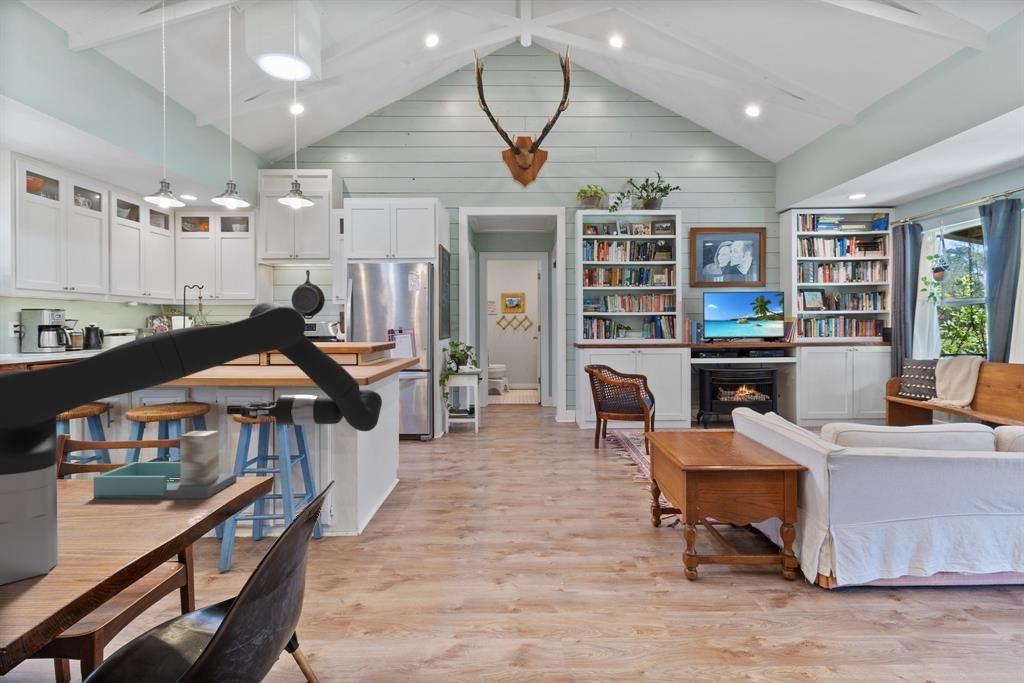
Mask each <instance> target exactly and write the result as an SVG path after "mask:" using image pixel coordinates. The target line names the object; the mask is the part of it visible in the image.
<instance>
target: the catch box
mask: <svg viewBox="0 0 1024 683" xmlns="http://www.w3.org/2000/svg"><path fill="white" fill-rule="evenodd" d="M169 478H180V461H134V462H130V463H128V464H125V465H122V466H120V467H118V468H114V469H112V470H109V471H105V472H103V473H101V474H99V475H98V474H97V475H96V476H93V499H165V498H164V490H165V489H167V488H169V487H171V486H173V485H175V484H177V483H179V482H180V479H169ZM167 480H169V481H167ZM170 480H174V481H170Z"/></svg>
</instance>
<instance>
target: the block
mask: <svg viewBox="0 0 1024 683" xmlns="http://www.w3.org/2000/svg"><path fill="white" fill-rule="evenodd" d="M219 433H220V431H219V430H194V431H190V432H187V433H185V434H182V435H180V437H179V438H180V441H179V443H180V444H179V445H180V448H179V449H180V450H179V451H180V454H179V455H180V457H179V459H180V461H179V462H180V484H181V485H206V484H208V483H210V482H212V481H214V480H216V479H217V478H219V472H220V471H219V470H220V469H219V468H220V467H219V466H220V462H219V461H220V458H219V457H220V454H219V452H220V447H219V445H220V443H219V442H220V438H219V437H220V436H219V435H220V434H219Z"/></svg>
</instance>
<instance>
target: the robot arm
mask: <svg viewBox="0 0 1024 683" xmlns="http://www.w3.org/2000/svg"><path fill="white" fill-rule="evenodd" d="M305 331H306V320H305V318H304V317H303V315H302V314H301V313H300V312H299V311H298V310H296V309H295V308H294V307H291V306H290V305H286V304H283V303H280V302H277V301H276V302H274V301H266V302H262V303H260V304H257V305H256V306H255V307H253V309H252V310H251V312H250V313H249V317H246V318H244V319H240V320H238V321H234V322H233V321H232V322H228V323H223V324H214V325H199V326H191V327H190V326H188V327H183V328H182V327H181V328H176V329H171V330H166V331H163V332H159V333H154V334H151V335H146V336H143V337H140V338H137V339H133V340H131V341H127V342H124V343H122V344H120V345H117V346H115V347H114V346H113V347H112V348H109V349H107V350H105V351H102V352H100V353H97V354H94V355H91V356H90V357H87V358H84V359H80V360H76V361H72V362H68V363H62V364H58V365H53V366H48V367H43V368H38V369H37V368H36V369H25V368H24V369H23V368H22V369H21V368H19V369H12V370H11V369H10V370H6V371H3V372H1V373H0V586H1V585H6V584H9V583H14V582H17V581H22V580H26V579H30V578H34V577H38V576H41V575H45V574H48V573H50V570H51V569H53V568H55V567H56V566H57V565H58V561H59V557H58V556H59V555H58V554H59V551H58V548H59V547H58V544H59V540H58V464H57V463H58V434H57V433H58V432H57V427H58V426H57V424H58V423H57V422H58V421H57V419H58V418H57V417H58V416H59V415H62V414H64V413H66V412H69V411H72V410H75V409H77V408H80V407H82V406H85V405H88V404H91V403H94V402H96V401H99V400H103V399H106V398H111V397H115V396H120V395H125V394H130V393H134V392H137V391H141V390H144V389H149V388H153V387H155V386H160V385H163V384H167V383H171V382H173V381H176V380H180V379H182V378H186V377H189V376H192V375H194V374H197V373H200V372H204V371H207V370H210V369H212V368H215V367H218V366H222V365H224V364H226V363H230V362H233V361H236V360H238V359H241V358H245V357H249V356H253V355H257V354H258V355H259V354H262V353H263V354H264V353H268V352H272V351H273V352H274V351H277V352H279V353H280V354H282V355H283V356H284V357H286V358H287V359H288V360H290V361H291V363H293V364H294V365H296V367H297V368H299V369H300V371H302V372H303V373H304V374H305V375H306V376H307V377H308V378H309V379H310V380H311V381H312V382H313V383H314V384H315V385H316V386H317V387H318V388H319V389H320V390H321V391H323V392H324V394H326V395H313V394H280V395H279V396H278V398H277V399H276V400H268V401H257V402H255V401H254V402H251V403H245V404H240V403H239V404H234V403H233V404H230V405H227V406H226V414H228V415H240V417H241V418H247V419H252V420H257V419H258V418H259V419H260V418H262V419H265V420H268V419H271V418H275V420H276V423H277V424H278V425H280V426H310V425H311V426H312V425H336V424H339V423H340V422H341V421H342V420H343V418H344V419H345V420H346V422H347V424H349V425H350V426H351V427H352V428H353V429H355V430H357V431H360V432H370V431H372V430H373V429H375V427H376V426H377V424H378V422H379V417H380V413H381V408H382V404H383V398H382V397H381V394H379V393H378V392H376V391H373V390H371V389H360V384H359V382H358V381H357V380H356V379H355V378H354V377H353V376H352V375H351V374H350V372H348V371H347V370H346V369H345V368H344V367H343V366H342V365H341V364H339V362H337V361H336V360H335V359H333V358H332V357H331V356H330V355H328V354H327V353H326V352H325V351H323V350H322V349H321V348H319V347H318V346H317V345H316V344H315V343H313V342H312V341H311V340H310V339H309V338H308V337H307V336H306V334H304V333H305Z"/></svg>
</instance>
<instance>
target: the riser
mask: <svg viewBox="0 0 1024 683" xmlns="http://www.w3.org/2000/svg"><path fill="white" fill-rule="evenodd" d="M237 476H238V475H237V473H233V472H232V473H231V472H230V473H224V472H223V473H219V478H217V479H216V480H214V481H212V482H210V483H208V484H206V485H181V484H180V482H179V483H177V484H175V485H173V486H171V487H169V488H167V489H165V490H164V498H163V499H208V498H210V497H212V496H213V495H216V494H217V493H219V492H221V491H222V490H224V489H225V488H228V487H229V486H230V485H232V484H234V483H236V482H237V480H238V479H237Z"/></svg>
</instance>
